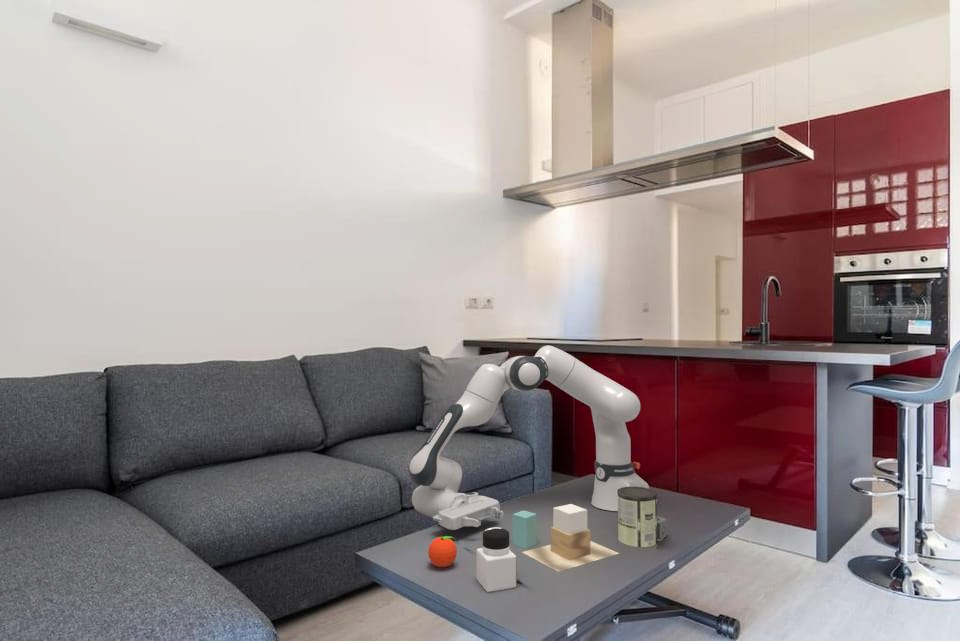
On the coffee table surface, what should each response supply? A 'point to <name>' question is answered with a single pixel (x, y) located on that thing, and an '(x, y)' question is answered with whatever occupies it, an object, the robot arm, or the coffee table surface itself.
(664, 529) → the dice cube
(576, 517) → the white block
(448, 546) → the clementine
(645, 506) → the coffee can
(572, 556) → the oak block
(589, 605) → the coffee table surface
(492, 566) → the medicine bottle
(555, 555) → the birch board
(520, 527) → the teal block
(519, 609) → the coffee table surface
